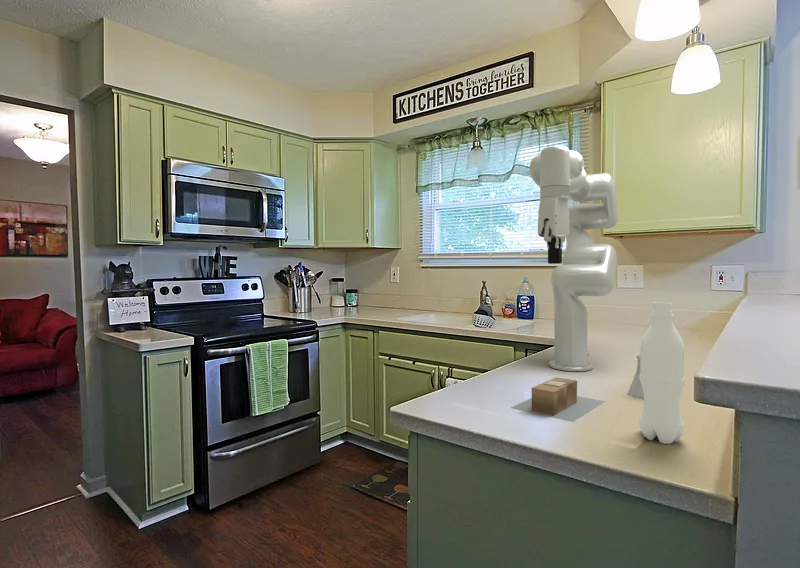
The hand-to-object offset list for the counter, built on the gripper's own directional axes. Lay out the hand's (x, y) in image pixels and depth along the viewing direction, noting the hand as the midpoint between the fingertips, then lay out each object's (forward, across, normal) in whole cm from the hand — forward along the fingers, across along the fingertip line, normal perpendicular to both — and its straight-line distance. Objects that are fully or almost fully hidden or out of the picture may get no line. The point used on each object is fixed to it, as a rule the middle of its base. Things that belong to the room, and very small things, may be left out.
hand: (554, 263), depth 124 cm
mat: (+32, +20, +10) cm, 39 cm away
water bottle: (+32, +26, +32) cm, 52 cm away
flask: (+32, 0, +22) cm, 39 cm away
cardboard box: (+29, +16, +10) cm, 35 cm away
